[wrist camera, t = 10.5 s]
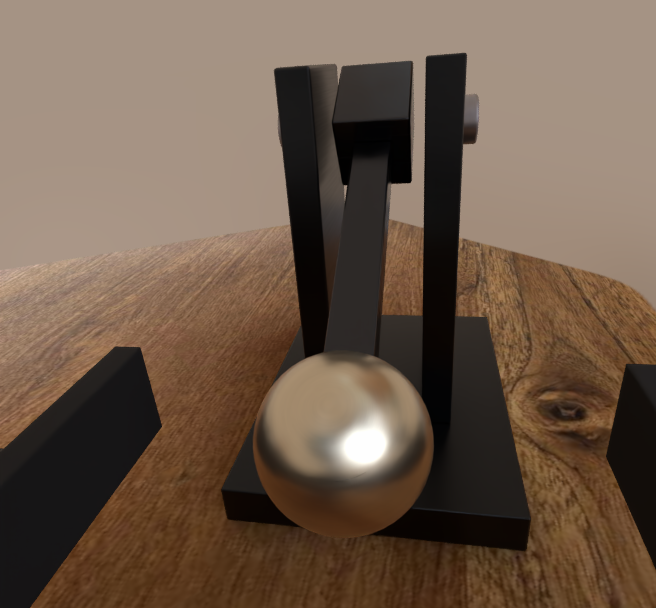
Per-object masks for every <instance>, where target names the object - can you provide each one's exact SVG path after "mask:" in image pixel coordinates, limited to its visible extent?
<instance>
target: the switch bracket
mask: <svg viewBox="0 0 656 608" xmlns="http://www.w3.org/2000/svg"><path fill="white" fill-rule="evenodd" d="M466 65H467V54H466V53H457V54H444V55H431V56H427V57H426V89H425V91H426V92H425V95H426V96H425V171H424V249H423V316H411V315H382V317H381V331H380V344H379V359H381V360H384V361H386V362H387V363H389V364H390V365H392V366H393V367H395V368H396V369H397V370H399V371H400V372H401V373H402V374H403V375H404V376H405V377H406V378H407V379H408V380H409V381H410V382H411V383H412V384H413V385H414V387H415V388H416V390H417V391H418V393H419V394H420V396H421V398H422V400H423V402H424V404H425V406H426V408H427V411H428V413H429V416H430V420H431V425H432V430H433V439H434V452H433V461H432V465H431V470H430V473H429V476H428V479H427V482H426V484H425V486H424V488H423V490H422V492H421V494H420V496H419V497H418V499H417V500H416V501H415V503H414V504H413V506H412V507H411V508H410V509H409V510H408V511H407V512H406V513H405V514H404V515H403V516H402V517H400V518H399V519H398V520H396V521H395V522H394V523H392V524H391V525H389V526H387V527H385V528H384V529H382V530H379V531H377V532H374V533H372V534H371V535H380V536H390V537H399V538H408V539H418V540H427V541H437V542H446V543H455V544H465V545H474V546H484V547H493V548H502V549H512V550H521V551H526V549H527V543H528V536H529V529H530V523H531V517H530V512H529V508H528V503H527V498H526V494H525V489H524V485H523V480H522V475H521V471H520V466H519V462H518V457H517V453H516V448H515V443H514V439H513V434H512V430H511V425H510V420H509V416H508V411H507V407H506V402H505V397H504V393H503V388H502V384H501V379H500V375H499V370H498V365H497V361H496V356H495V352H494V347H493V342H492V338H491V333H490V329H489V324H488V320H487V317H461V316H455V314H456V291H457V268H458V246H459V223H460V201H461V178H462V155H463V144H474V143H475V142H476V140H477V134H478V122H479V99H478V95H477V94H469V95H465V86H466ZM274 76H275V85H276V95H277V104H278V113H279V115H278V134H279V140H280V144H281V146H282V151H283V160H284V169H285V178H286V188H287V197H288V206H289V216H290V225H291V235H292V244H293V253H294V263H295V272H296V281H297V291H298V300H299V309H300V319H301V326H300V328H299V330H298V332H297V335H296V337H295V339H294V341H293V343H292V345H291V347H290V349H289V351H288V353H287V355H286V357H285V359H284V361H283V363H282V365H281V367H280V370H279V372H278V374H277V376H276V378H275V380H274V382H273V384H274V383H275V382H276V381H277V380H278V378H279V377H280V376H281V375H282V374H283V373H285V372H286V371H287V370H288V369H289V368H291V367H292V366H294V365H295V364H297V363H298V362H300V361H302V360H304V359H306V358H308V357H311V356H313V355H316V354H320V353H324V347H325V340H326V333H327V326H328V319H329V311H330V304H331V297H332V290H333V283H334V276H335V269H336V262H337V255H338V248H339V241H340V234H341V227H342V220H343V213H344V206H345V199H344V185H343V184H342V181H341V175H340V169H339V163H338V158H337V152H336V146H335V140H334V135H333V129H332V117H333V112H334V106H335V101H336V95H337V90H338V78H337V66H336V65H335V64H327V65H326V64H325V65H308V66H295V67H283V68H276V69H275V70H274ZM273 384H272V386H273ZM272 386H271V387H272ZM256 418H257V417H256ZM255 422H256V419H255V421H254V423H253V425H252V427H251V429H250V431H249V433H248V435H247V437H246V440H245V442H244V444H243V446H242V448H241V450H240V452H239V454H238V456H237V458H236V460H235V462H234V464H233V466H232V468H231V470H230V472H229V475H228V477H227V479H226V481H225V483H224V485H223V487H222V489H221V492H222V497H223V501H224V506H225V510H226V515H227V518H228V519H230V520H239V521H249V522H258V523H268V524H277V525H286V526H296V527H301V526H299V525H297V524H296V523H294V522H293V521H292V520H290V519H289V518H287V517H286V516H285V515H284V514H283V513H282V512H281V511H280V510H279V509H278V508H277V507H276V505H275V504H274V503H273V502H272V500H271V499H270V498H269V496H268V494H267V493H266V491H265V489H264V487H263V486H262V483H261V481H260V478H259V476H258V472H257V469H256V465H255V460H254V453H253V435H254V428H255Z"/></svg>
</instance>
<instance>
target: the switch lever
mask: <svg viewBox="0 0 656 608" xmlns="http://www.w3.org/2000/svg"><path fill="white" fill-rule="evenodd" d="M413 94H414V93H413V62H412V61H402V62H389V63H376V64H363V65H351V66H343V67H342V69H341V74H340V79H339V85H338V90H337V95H336V101H335V106H334V112H333V117H332V129H333V135H334V140H335V146H336V152H337V158H338V163H339V169H340V175H341V181H342V184H343V185H347V192H346V199H345V206H344V213H343V220H342V227H341V234H340V241H339V248H338V255H337V262H336V269H335V276H334V283H333V290H332V297H331V304H330V311H329V319H328V326H327V333H326V340H325V347H324V353H320V354H316V355H313V356H311V357H308V358H306V359H304V360H302V361H300V362H298V363H297V364H295V365H294V366H292V367H291V368H289V369H288V370H287V371H286V372H285V373H283V374H282V375H281V376H280V377H279V378H278V380H277V381H276V382H275V383H274V384H273V386H272V387H271V388H270V390H269V391H268V393H267V394H266V396H265V398H264V400H263V402H262V404H261V406H260V409H259V411H258V414H257V418H256V422H255V428H254V435H253V453H254V460H255V465H256V469H257V472H258V476H259V478H260V481H261V483H262V486H263V487H264V489H265V491H266V493H267V494H268V496H269V498H270V499H271V500H272V502H273V503H274V504H275V505H276V507H277V508H278V509H279V510H280V511H281V512H282V513H283V514H284V515H285V516H286V517H287V518H289V519H290V520H292V521H293V522H294V523H296V524H297V525H299V526H301V527H303V528H305V529H307V530H309V531H311V532H314V533H317V534H320V535H323V536H328V537H334V538H352V537H360V536H364V535H368V534H372V533H374V532H377V531H379V530H382V529H384V528H385V527H387V526H389V525H391V524H392V523H394V522H395V521H396V520H398V519H399V518H400V517H402V516H403V515H404V514H405V513H406V512H407V511H408V510H409V509H410V508H411V507H412V506H413V504H414V503H415V501H416V500H417V499H418V497H419V496H420V494H421V492H422V490H423V488H424V486H425V484H426V482H427V479H428V476H429V473H430V470H431V465H432V461H433V452H434V439H433V430H432V425H431V420H430V416H429V413H428V411H427V408H426V406H425V404H424V402H423V400H422V398H421V396H420V394H419V393H418V391H417V390H416V388H415V387H414V385H413V384H412V383H411V382H410V381H409V380H408V379H407V378H406V377H405V376H404V375H403V374H402V373H401V372H400V371H399V370H397V369H396V368H395V367H393V366H392V365H390V364H389V363H387V362H386V361H384V360H381V359H379V344H380V331H381V317H382V303H383V290H384V276H385V263H386V249H387V236H388V222H389V209H390V208H389V207H390V195H391V184H398V183H399V184H401V183H411V181H412V161H413V137H414V97H413Z"/></svg>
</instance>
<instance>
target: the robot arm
mask: <svg viewBox="0 0 656 608" xmlns="http://www.w3.org/2000/svg"><path fill="white" fill-rule="evenodd" d="M161 427H162V424H161V421H160V417H159V413H158V410H157V406H156V402H155V399H154V395H153V392H152V388H151V384H150V381H149V377H148V373H147V370H146V366H145V362H144V359H143V355H142V351H141V348H140V347H114V348H113V349H112V350H111V351H110V352H109V353H108V354H107V355H106V356H105V357H104V358H102V359H101V360H100V361H99V362H98V363H97V364H96V365H95V366H94V367H93V368H92V369H90V370H89V371H88V372H87V373H86V374H85V375H84V376H83V377H82V378H81V379H80V380H78V381H77V382H76V383H75V384H74V385H73V386H72V387H71V388H70V389H69V390H67V391H66V392H65V393H64V394H63V395H62V396H61V397H60V398H59V399H58V400H57V401H55V402H54V403H53V404H52V405H51V406H50V407H49V408H48V409H47V410H46V411H45V412H43V413H42V414H41V415H40V416H39V417H38V418H37V419H36V420H35V421H34V422H33V423H31V424H30V425H29V426H28V427H27V428H26V429H25V430H24V431H23V432H22V433H21V434H19V435H18V436H17V437H16V438H15V439H14V440H13V441H12V442H11V443H10V444H9V445H7V446H6V447H5V448H4V449H2V448H0V608H30V607H31V606H32V604H33V603H34V601H35V600H36V599H37V597H38V596H39V595H40V593H41V592H42V590H43V589H44V588H45V586H46V585H47V584H48V582H49V581H50V579H51V578H52V577H53V575H54V574H55V573H56V571H57V570H58V569H59V567H60V566H61V564H62V563H63V562H64V560H65V559H66V558H67V556H68V555H69V553H70V552H71V551H72V549H73V548H74V547H75V545H76V544H77V542H78V541H79V540H80V538H81V537H82V536H83V534H84V533H85V531H86V530H87V529H88V527H89V526H90V525H91V523H92V522H93V520H94V519H95V518H96V516H97V515H98V514H99V512H100V511H101V510H102V508H103V507H104V505H105V504H106V503H107V501H108V500H109V499H110V497H111V496H112V494H113V493H114V492H115V490H116V489H117V488H118V486H119V485H120V483H121V482H122V481H123V479H124V478H125V477H126V475H127V474H128V472H129V471H130V470H131V468H132V467H133V466H134V464H135V463H136V461H137V460H138V459H139V457H140V456H141V455H142V453H143V452H144V451H145V449H146V448H147V446H148V445H149V444H150V442H151V441H152V440H153V438H154V437H155V435H156V434H157V433H158V431H159V430H160V429H161ZM606 457H607V460H608V462H609V464H610V467H611V469H612V471H613V473H614V476H615V478H616V480H617V482H618V485H619V487H620V489H621V492H622V494H623V496H624V498H625V501H626V503H627V505H628V507H629V510H630V512H631V514H632V517H633V519H634V521H635V523H636V526H637V528H638V530H639V532H640V535H641V537H642V539H643V542H644V544H645V546H646V548H647V551H648V553H649V555H650V557H651V560H652V562H653V564H654V566H655V569H656V365H647V364H626V367H625V372H624V377H623V381H622V386H621V390H620V395H619V399H618V404H617V409H616V413H615V418H614V422H613V427H612V432H611V436H610V441H609V445H608V450H607V454H606Z"/></svg>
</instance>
